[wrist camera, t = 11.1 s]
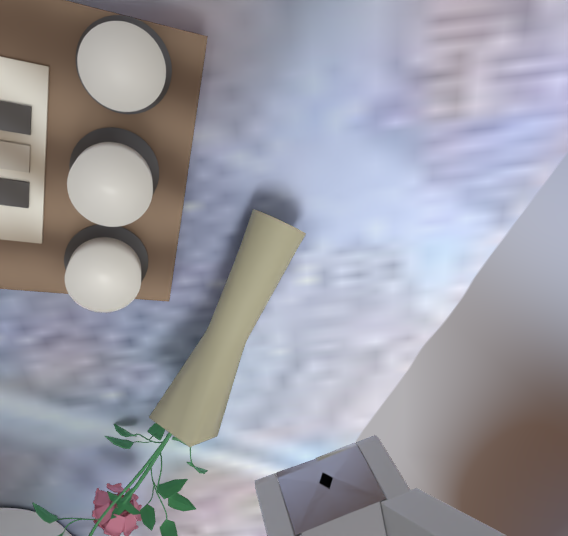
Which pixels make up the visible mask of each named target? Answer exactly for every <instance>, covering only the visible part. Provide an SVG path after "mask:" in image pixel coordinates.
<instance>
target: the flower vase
mask: <svg viewBox="0 0 568 536" xmlns="http://www.w3.org/2000/svg"><path fill="white" fill-rule="evenodd" d="M305 235H306V233H304V232H302V231H300V230H299V229H297V228H295V227H293V226H291V225H289V224H287V223H285V222H283V221H280V220H278V219H276V218H274V217H272V216H270V215H267V214H265V213H262V212H260V211H258V210H254V209H253V210H252V213H251V216H250V219H249V222H248V225H247V228H246V231H245V234H244V237H243V240H242V243H241V246H240V248H239V251H238V253H237V256H236V259H235V261H234V264H233V266H232V269H231V271H230V274H229V276H228V279H227V281H226V284H225V286H224V289H223V291H222V294H221V296H220V299H219V301H218V304H217V306H216V309H215V311H214V314H213V316H212V319H211V321H210V324H209V326H208V328H207V330H206V332H205V334H204V335H203V337H202V338H201V340H200V341H199V343H198V344H197V346H196V347H195V349H194V350H193V352H192V353H191V355H190V356H189V358H188V359H187V361H186V362H185V364H184V365H183V367H182V368H181V370H180V371H179V373H178V374H177V376H176V377H175V379H174V380H173V382H172V383H171V385H170V386H169V388H168V389H167V391H166V392H165V394H164V395H163V397H162V398H161V400H160V401H159V403H158V404H157V406H156V407H155V409H154V410H153V412H152V413H151V415H150V416H149V418H150V419H152V420H153V421H154V422H156V423H155V424H154V425H153V426H152V427H150V428H149V430H148V432H149V433H150V434H151V435H153V436H154V437H155V438H157V439H158V440H161V438H162V436H163V434H164V431H165V430H167V431H168V432H169V433H168V434H167V436H166V438H165V439H164V441H163V442H154V441H151V440H150V439H151V438H152V437H153V436H152V437H151V438H150V439H147V438H145V437H144V436H142V435H140V434H135V435H133V434H131V433H129V432H128V431H126V430H124V429H123V428H121V427H119V426H118V425H116V424H114V426H115V429H116V431H117V432H118V433H119V434H120V435H121V436H125V437H129V436H136V435H140V436H142V437H144V438H145V439H147V440H149V441H150V442H154V443H161V445H160V446H159V447H158V449H157V450H156V451H155V453H154V454H153V455H152V456H151V458H150V459H149V460H148V461H147V463H146V464H145V465H144V466H143V468H142V469H141V470H140V471H139V472H138V474H137V475H136V476H135V477H134V478H133V480H132V481H131V482H130V483H129V484H128V485H127V486H126V488H125V489H123V488H122V487H121V485H122V484H121V483H118V484H115V485H110V484H109V483H107V488H108V489H110V490H111V491H113V492H118V494H113V493H111V492H109V491H107V492H105V491H102V490H99V488H97V490H96V496H95V500H94V501H93V503H94V504H95V509H94V510H93V511H92V512H93V514H92V516H93V517H95V519H83V518H62V519H78V520H82V519H83V520H93V521H94V523H95V525H94V527H93V529H92V531H91V532H90V534H89V536H92V534H93V533H94V531H95V529H96V527H97V526H99V527H101V528H102V529H103V530H104V533H105V534H107V535H111V536H120V534H121V533H122V532H124V535H125V536H129V535H130V533H131V532H132V531H133V530H134V529H137V528H138V526H137V525H136V519H137V521H141V520H142V521H143V523H144V525H145V526H147V527H148V528H149V529H150V530H151V531H152V529H153V527H154V524H155V512H154V508H152V507H151V506H149V505H148V504H149V503H148V504H147V505H146V506H144V507H143V508H142V509H141V506H142V505H138V503H137V502H136V500H137V499H138V496H137V495H135V494H133V493H134V492H135V490H136V489H137V488H138V487H139V485H140V484H141V482H142V481H143V479H144V478H145V476H146V475H147V473H148V472H149V470H150V469H151V476H152V466H153V464H154V463H155V461H156V459H157V458H158V456H159V455H160V456H161V451H162V450H163V448H164V446H165V445H166V443H167V442H168V440H169V438H170V437H171V435H174V436H175V437H173V438H172V439H173V440H177V441H180V442H182V443H183V444H185V445H188V446H189V447H190V459H191V446H193V445H196V444H199V443H201V442H204V441H206V440H209V439H211V438H214V437H217V435H218V432H219V429H220V425H221V422H222V419H223V415H224V412H225V409H226V405H227V402H228V399H229V395H230V392H231V389H232V385H233V382H234V378H235V375H236V372H237V368H238V365H239V362H240V358H241V355H242V352H243V349H244V346H245V343H246V341H247V339H248V337H249V335H250V333H251V332H252V330H253V328H254V326H255V324H256V322H257V321H258V319H259V317H260V315H261V313H262V312H263V310H264V308H265V306H266V304H267V303H268V301H269V299H270V297H271V295H272V294H273V292H274V290H275V288H276V286H277V285H278V283H279V281H280V279H281V277H282V275H283V274H284V272H285V270H286V268H287V266H288V265H289V263H290V261H291V259H292V257H293V256H294V254H295V252H296V250H297V248H298V247H299V245H300V243H301V242H302V240H303V238H304V237H305ZM105 437H106V438H107V439H108V440H110V441H111V442H112V443H113V444H115V445H117V446H119V447H121V448H125V449H130V448H131V446H132V445H133V443H134V442H131V441H129V440H121V439H118V438H114V437H108V436H105ZM136 442H139V441H136ZM142 443H148V442H142ZM149 463H150V464H149ZM187 463H188V464H189V465H190V466H192V467H194V468H195V469H196V470H197V471H198V472H199V473H203V474H205V473H206V472H207V471H208V470H205V469H202V468H198V467H195V466H194V465H193V463H192V460H191V462H187ZM147 466H148V467H147ZM146 467H147V468H146ZM145 468H146V470H145ZM144 470H145V471H144ZM143 471H144V473H143V474H142V476H141V477H140V479H139V480H138V482H137V483H136V485H135V486H134V487H133V488H132V489H131V490H130V488H129V487H130V486H131V485H132V484H133V483H134V481H135V480H136V479H137V478H138V477H139V476H140V474H141V473H142V472H143ZM161 471H162V456H161ZM161 471H160V476H161ZM160 476H159V481H160ZM152 481H153V477H152ZM159 481H158V486H156V485H155V483H154V481H153V485H154V486H153V490H154V487H155V486H156V487H157V490H156V488H155V490H156V493H157V492H158V493H159V494H160V495H161V496H162V497H163V498H164V499H166V498H168V506H170V507H172V508H173V509H177V510H181V511H188V510H195V509H196V508H195V507H194V506H193V504H192V503H191V502H190V501H189V500H188V499H187V498H185V497H183V496H182V495H180V494H178V493H177V492H179V491H180V490H181V488H182V487H183V485H184V484H185V482H186V481H187V479H179V480H172V481H169V482H166V483H163V484H159ZM125 492H126V494H125V495H123V494H124V493H125ZM158 493H157V495H158ZM152 497H153V493H152ZM158 497H159V495H158ZM131 499H132V500H131ZM151 499H152V498H151ZM159 499H160V497H159ZM150 501H151V500H150ZM150 501H149V502H150ZM160 501H161V499H160ZM161 503H162V501H161ZM162 505H163V503H162ZM33 506H34V508H35V511H36V513H37V515H38V516H39V517H40V518H41V519H42V520H43V521H45V522H47V523H49V524H50V523H52V522H55V521H57V520H62V519H58V518H57V516H55V515H53V514H51V513H49V512H48V511H47V510H45V509H44V508H42V507H40V506H39V505H37V504H35V503H33ZM163 507H164V505H163ZM140 509H141V510H140ZM164 510H165V508H164ZM165 513H166V510H165ZM78 520H75V521H78ZM75 521H72V522H75ZM72 522H70V523H69V524H71V523H72ZM69 524H68V525H69ZM68 525H67V526H68ZM67 526H66V527H65V529H66V528H67ZM65 529H64V532H65ZM160 530H161V534H162V536H178V535H177V530H176V526H175V523H174V522H173V521H170V520H167V513H166V520H165V521H164V523H163V524H162V525H161V526H160ZM64 532H63V533H61V534H60V535H58V536H62V535H63V534H64Z"/></svg>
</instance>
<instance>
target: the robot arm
mask: <svg viewBox="0 0 568 536" xmlns="http://www.w3.org/2000/svg"><path fill="white" fill-rule="evenodd" d="M276 475H277V476H276ZM277 478H278V479H277ZM278 481H279V482H278ZM255 489H256V493H257V497H258V501H259V505H260V509H261V513H262V517H263V521H264V525H265V529H266V533H267V536H506V535H504V534H502V533H501V532H499V531H497V530H495V529H493V528H491V527H489V526H487V525H486V524H484V523H482V522H480V521H478V520H476V519H474V518H472V517H470V516H468V515H467V514H465V513H463V512H461V511H459V510H457V509H455V508H453V507H452V506H450V505H448V504H446V503H444V502H442V501H440V500H438V499H437V498H435V497H433V496H431V495H429V494H427V493H425V492H423V491H421V490H420V489H418V488H415V489H412V490H410V489H409V487H408V485H407V483H406V482H405V481H404V479H403V477H402V475H401V474H400V472H399V470H398V469H397V467H396V465H395V464H394V462H393V461H392V459H391V457H390V456H389V454H388V452H387V451H386V449H385V447H384V446H383V444H382V442H381V441H380V439H379V438H378V437H377V436H375V435H374V436H371V437H369V438H366V439H364V440H361V441H359V442H356V443H352V444H350V445H347V446H345V447H342V448H340V449H337V450H335V451H332V452H330V453H327V454H325V455H322V456H320V457H317V458H316V459H314V460H311V461H308V462H305V463H302V464H300V465H297V466H294V467H291V468H288V469H285V470H282V471H280V472H277V473H275V474H272V475H269V476H266V477H264V478H261V479H258V480H255ZM64 529H65V528H64V527H63V526H61V525H60V524H59V523H58V522H56V521H55V522H52V523H50V524H49V523H47V522H45V521H43V520H42V519H41V518H40V517H39V516H38V515H37V513H36V512H33V511H29V510H24V509H17V508H0V536H58V535H60V534H61V533H63V532H64ZM62 536H72V535H71V534H70V533H69V532H68V531H67V530H66V529H65V532H64V534H63V535H62Z"/></svg>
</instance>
